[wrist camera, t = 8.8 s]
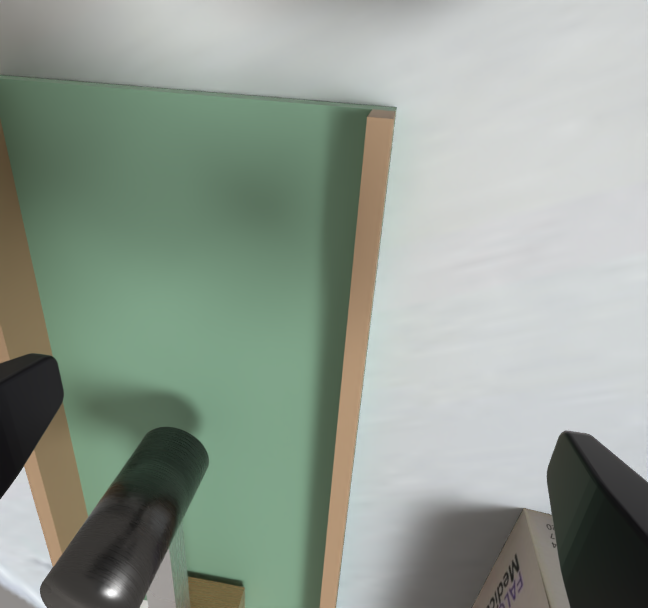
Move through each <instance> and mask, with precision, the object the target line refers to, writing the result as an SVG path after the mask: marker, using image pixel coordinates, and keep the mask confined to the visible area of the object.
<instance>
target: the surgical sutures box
mask: <svg viewBox="0 0 648 608" xmlns="http://www.w3.org/2000/svg"><path fill="white" fill-rule="evenodd" d="M472 608H570V605H569V601H568V597H567V594H566V590H565V586H564V582H563V578H562V574H561V569H560V564H559V558H558V552H557V545H556V538H555V532H554V525H553V518H552V515H550V514H546V513H542V512H538V511H534V510H530V509H526V508H523V510H522V512H521V514H520V516H519V518H518V520H517V522H516V524H515V526H514V527H513V529H512V531H511V533H510V535H509V537H508V539H507V541H506V543H505V545H504V547H503V549H502V551H501V552H500V554H499V556H498V558H497V560H496V562H495V564H494V566H493V568H492V570H491V572H490V574H489V575H488V577H487V579H486V581H485V583H484V585H483V587H482V589H481V591H480V593H479V595H478V597H477V599H476V600H475V602H474V604H473V606H472Z"/></svg>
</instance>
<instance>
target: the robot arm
mask: <svg viewBox="0 0 648 608" xmlns="http://www.w3.org/2000/svg"><path fill="white" fill-rule="evenodd" d="M63 398H64V389H63V384H62V380H61V375H60V371H59V366H58V362H57V360H56V359H55V358H54V357H53V356H51V355H44V354H37V353H30V354H26V355H23V356H20V357H17V358H14V359H11V360H8V361H5V362H2V363H0V499H1V498H2V496H3V495H4V494H5V492H6V491H7V490H8V488H9V487H10V486H11V484H12V483H13V481H14V480H15V479H16V477H17V476H18V474H19V473H20V471H21V470H22V468H23V467H24V465H25V464H26V462H27V460H28V459H29V457H30V455H31V454H32V452H33V450H34V449H35V447H36V446H37V444H38V442H39V441H40V439H41V437H42V436H43V434H44V433H45V431H46V429H47V428H48V426H49V424H50V423H51V421H52V420H53V418H54V416H55V415H56V413H57V411H58V410H59V408H60V406H61V404H62V402H63ZM547 485H548V491H549V498H550V505H551V512H552V518H553V525H554V532H555V538H556V545H557V552H558V558H559V564H560V569H561V574H562V578H563V582H564V586H565V590H566V594H567V597H568V601H569V605H570V608H648V482H647V481H646V480H645V479H643V478H642V477H641V476H640V475H638V474H637V473H636V472H635V471H634V470H632V469H631V468H630V467H629V466H628V465H626V464H625V463H624V462H623V461H622V460H620V459H619V458H618V457H617V456H616V455H614V454H613V453H612V452H611V451H610V450H608V449H607V448H606V447H605V446H604V445H602V444H601V443H600V442H599V441H598V440H596V439H595V438H594V437H593V436H591V435H589V434H587V433H580V432H573V431H564V432H562V433H561V434H560V436H559V438H558V440H557V443H556V446H555V449H554V451H553V454H552V457H551V460H550V463H549V465H548V469H547Z"/></svg>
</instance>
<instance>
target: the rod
mask: <svg viewBox="0 0 648 608" xmlns="http://www.w3.org/2000/svg"><path fill="white" fill-rule="evenodd" d="M208 466H209V456H208V453H207V451H206V449H205V447H204V446H203V444H202V443H201V442H200V441H199V440H198V439H197V438H196V437H194V436H193V435H191V434H190V433H188V432H186V431H184V430H181V429H178V428H174V427H159V428H155V429H153V430H151V431H149V432H148V433H147V434H146V435H145V436H144V438H143V439H142V441H141V442H140V444H139V445H138V446H137V448H136V449H135V451H134V452H133V454H132V455H131V456H130V458H129V459H128V461H127V462H126V464H125V465H124V466H123V468H122V469H121V471H120V472H119V474H118V475H117V476H116V478H115V479H114V481H113V482H112V484H111V485H110V486H109V488H108V489H107V491H106V492H105V494H104V495H103V497H102V498H101V499H100V501H99V502H98V504H97V505H96V507H95V508H94V509H93V511H92V512H91V514H90V515H89V517H88V518H87V519H86V521H85V522H84V524H83V525H82V527H81V528H80V529H79V531H78V532H77V534H76V535H75V537H74V538H73V539H72V541H71V542H70V544H69V545H68V547H67V548H66V549H65V551H64V552H63V554H62V555H61V557H60V558H59V559H58V561H57V562H56V564H55V565H54V567H53V568H52V569H51V571H50V572H49V574H48V575H47V577H46V578H45V580H44V581H43V582H42V584H41V587H40V594H41V598H42V600H43V602H44V604H45V605H46V607H47V608H140V606H141V604H142V602H143V600H144V598H145V596H146V595H147V601H148V608H245V587H240V586H235V585H230V584H225V583H220V582H214V581H209V580H204V579H199V578H193V577H188V575H187V565H186V555H185V544H184V534H183V524H182V520H183V518H184V516H185V514H186V512H187V510H188V508H189V506H190V504H191V502H192V500H193V498H194V496H195V493H196V491H197V489H198V487H199V485H200V483H201V481H202V479H203V477H204V475H205V473H206V471H207V469H208Z"/></svg>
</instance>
